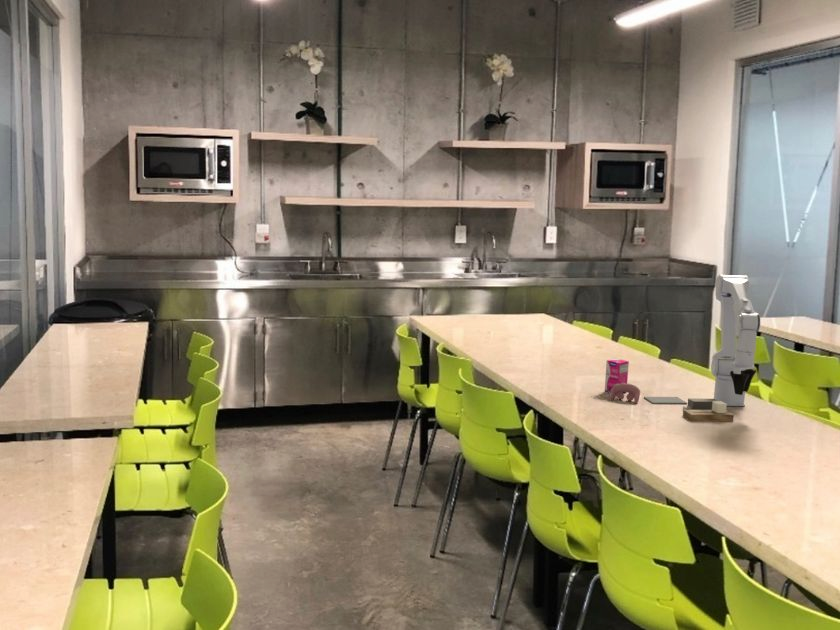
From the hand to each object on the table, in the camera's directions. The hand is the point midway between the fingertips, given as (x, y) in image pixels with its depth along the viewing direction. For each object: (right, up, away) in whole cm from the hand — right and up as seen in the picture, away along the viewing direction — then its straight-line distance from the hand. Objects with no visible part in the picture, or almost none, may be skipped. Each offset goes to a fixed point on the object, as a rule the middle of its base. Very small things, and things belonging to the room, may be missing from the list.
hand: (741, 392), depth 268 cm
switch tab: (-7, -6, 0) cm, 9 cm away
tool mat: (-18, -5, +21) cm, 28 cm away
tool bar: (-9, -7, +10) cm, 15 cm away
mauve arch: (-32, -5, +20) cm, 38 cm away
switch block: (-11, -8, 0) cm, 13 cm away
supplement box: (-33, -3, +32) cm, 46 cm away
